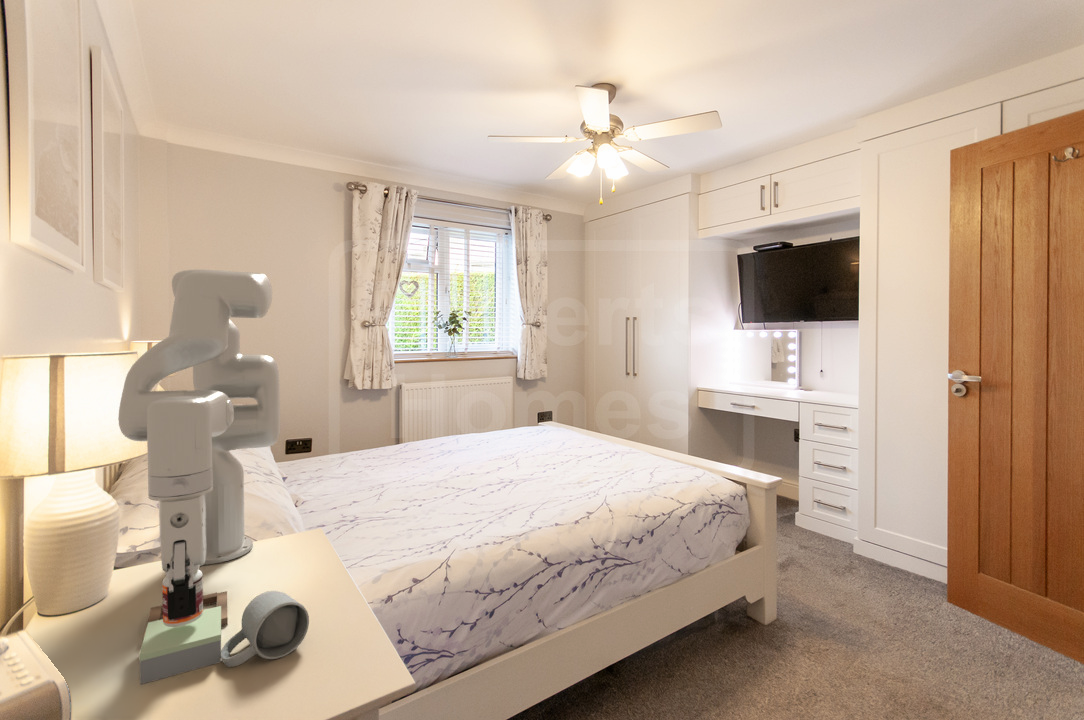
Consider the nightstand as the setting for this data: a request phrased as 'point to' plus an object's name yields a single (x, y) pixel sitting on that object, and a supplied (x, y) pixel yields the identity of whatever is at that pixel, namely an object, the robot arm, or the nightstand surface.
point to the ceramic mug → (268, 628)
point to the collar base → (207, 600)
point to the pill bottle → (199, 599)
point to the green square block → (180, 646)
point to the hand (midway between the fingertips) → (183, 605)
